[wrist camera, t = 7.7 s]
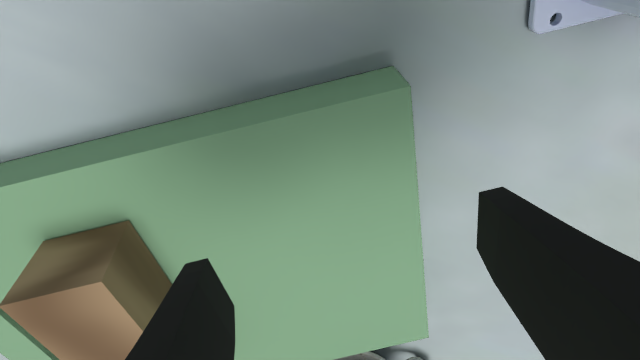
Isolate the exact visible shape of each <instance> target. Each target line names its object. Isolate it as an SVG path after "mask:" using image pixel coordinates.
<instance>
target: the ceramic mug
mask: <svg viewBox="0 0 640 360" xmlns="http://www.w3.org/2000/svg"><path fill="white" fill-rule="evenodd" d="M334 360H386V359H385V358H383V357H381V356H379V355H377V354H375V353H373V352H370V351H368V352H364V353H360V354H356V355H351V356H347V357H343V358H338V359H334ZM407 360H423V359H422V358H420V357H411V358H409V359H407Z"/></svg>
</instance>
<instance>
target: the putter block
mask: <svg viewBox="0 0 640 360" xmlns="http://www.w3.org/2000/svg"><path fill="white" fill-rule="evenodd" d="M171 286H172V284H171V282H170V281H169V279H168V278H167V276H166V275H165V273H164V272H163V270H162V269H161V267H160V266H159V264H158V263H157V261H156V260H155V258H154V257H153V255H152V254H151V253H150V251H149V250H148V248H147V247H146V245H145V244H144V242H143V241H142V239H141V238H140V236H139V235H138V233H137V232H136V230H135V229H134V227H133V226H132V224H131V223H130V221H129V220H128V221H124V222H120V223H116V224H112V225H108V226H104V227H100V228H95V229H91V230H87V231H83V232H79V233H75V234H71V235H67V236H63V237H59V238H54V239H50V240H46V241H43V242H42V244H41V245H40V246H39V248H38V249H37V251H36V252H35V254H34V255H33V257H32V258H31V260H30V261H29V263H28V264H27V265H26V267H25V268H24V270H23V271H22V273H21V274H20V276H19V277H18V279H17V280H16V281H15V283H14V284H13V286H12V287H11V289H10V290H9V292H8V293H7V295H6V296H5V297H4V299H3V300H2V302H1V303H0V308H1V309H2V310H3V311H4V312H5V313H7V314H8V315H9V316H10V317H11V318H12V319H13V320H15V321H16V322H17V323H18V324H19V325H20V326H22V327H23V328H24V329H25V330H26V331H27V332H28V333H30V334H31V335H32V336H33V337H34V338H35V339H36V340H38V341H39V342H40V343H41V344H42V345H43V346H45V347H46V348H47V349H48V350H49V351H50V352H51V353H53V354H54V355H55V356H56V357H57V358H58V359H59V360H125V359H126V357H127V356H128V354H129V353H130V351H131V350H132V348H133V347H134V345H135V344H136V342H137V341H138V339H139V337H140V336H141V334H142V333H143V331H144V330H145V328H146V326H147V325H148V323H149V322H150V320H151V319H152V317H153V315H154V314H155V312H156V310H157V309H158V307H159V306H160V304H161V302H162V301H163V299H164V297H165V296H166V294H167V292H168V291H169V289H170V287H171Z"/></svg>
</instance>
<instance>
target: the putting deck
mask: <svg viewBox="0 0 640 360" xmlns="http://www.w3.org/2000/svg"><path fill="white" fill-rule="evenodd" d="M128 220H129V221H130V223H131V224H132V226H133V227H134V229H135V230H136V232H137V233H138V235H139V236H140V238H141V239H142V241H143V242H144V244H145V245H146V247H147V248H148V250H149V251H150V253H151V254H152V255H153V257H154V258H155V260H156V261H157V263H158V264H159V266H160V267H161V269H162V270H163V272H164V273H165V275H166V276H167V278H168V279H169V281H170V282H171V284H173V283H174V281H175V279H176V278H177V276H178V274H179V273H180V271H181V270H182V268H183V266H184V265H185V264H186V263H190V262H194V261H198V260H202V259H206V258H208V260H209V261H210V263H211V265H212V267H213V268H214V270H215V272H216V274H217V276H218V277H219V279H220V281H221V283H222V284H223V286H224V288H225V290H226V292H227V293H228V295H229V297H230V299H231V300H232V302H233V304H234V308H235V354H234V360H334V359H338V358H343V357H347V356H351V355H356V354H360V353H364V352H368V351H373V350H377V349H381V348H386V347H390V346H394V345H398V344H403V343H407V342H411V341H416V340H420V339H424V338H428V337H429V335H428V321H427V307H426V293H425V280H424V266H423V252H422V238H421V224H420V210H419V197H418V183H417V169H416V155H415V141H414V127H413V113H412V100H411V86H410V85H409V84H408V82H407V81H406V80H405V79H404V78H403V77H402V76H401V74H400V73H399V72H398V71H397V70H396V69H395V68H394V66H390V67H386V68H382V69H378V70H374V71H370V72H366V73H362V74H358V75H354V76H350V77H346V78H342V79H338V80H334V81H330V82H326V83H322V84H318V85H314V86H310V87H306V88H302V89H298V90H294V91H290V92H286V93H282V94H278V95H274V96H270V97H266V98H262V99H258V100H254V101H250V102H246V103H242V104H238V105H234V106H229V107H225V108H221V109H217V110H213V111H209V112H205V113H201V114H197V115H193V116H189V117H185V118H181V119H177V120H173V121H169V122H165V123H161V124H157V125H153V126H149V127H145V128H141V129H137V130H133V131H129V132H125V133H121V134H117V135H113V136H109V137H105V138H101V139H97V140H93V141H89V142H85V143H81V144H77V145H73V146H68V147H64V148H60V149H56V150H52V151H48V152H44V153H40V154H36V155H32V156H28V157H24V158H20V159H16V160H12V161H8V162H4V163H0V303H1V302H2V300H3V299H4V297H5V296H6V295H7V293H8V292H9V290H10V289H11V287H12V286H13V284H14V283H15V281H16V280H17V279H18V277H19V276H20V274H21V273H22V271H23V270H24V268H25V267H26V265H27V264H28V263H29V261H30V260H31V258H32V257H33V255H34V254H35V252H36V251H37V249H38V248H39V246H40V245H41V244H42V242H43V241H46V240H50V239H54V238H59V237H63V236H67V235H71V234H75V233H79V232H83V231H87V230H91V229H95V228H100V227H104V226H108V225H112V224H116V223H120V222H124V221H128ZM0 353H1V354H2V355H4V356H5V357H6V358H8V359H9V360H59V359H58V358H57V357H56V356H55V355H54V354H53V353H51V352H50V351H49V350H48V349H47V348H46V347H45V346H43V345H42V344H41V343H40V342H39V341H38V340H36V339H35V338H34V337H33V336H32V335H31V334H30V333H28V332H27V331H26V330H25V329H24V328H23V327H22V326H20V325H19V324H18V323H17V322H16V321H15V320H13V319H12V318H11V317H10V316H9V315H8V314H7V313H5V312H4V311H3V310H2V309H1V308H0Z"/></svg>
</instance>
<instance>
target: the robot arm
mask: <svg viewBox="0 0 640 360" xmlns="http://www.w3.org/2000/svg"><path fill="white" fill-rule="evenodd" d="M555 13H556V18H555V20H554V21H553V22H552V23H550V19H551V17H552V16H553V15H554V14H555ZM624 13H625V14H628V15H632V16H636V17H640V0H531V3H530V12H529V21H528V25H529V29H530V30H531V31H533V32H535V33H537V34H543V33H547V32H551V31H555V30H559V29H563V28H567V27H571V26H575V25H579V24H583V23H587V22H591V21H595V20H599V19H603V18H607V17H611V16H615V15H620V14H624ZM477 249H478V251H479V254H480V256H481V258H482V260H483V262H484V264H485V266H486V268H487V270H488V272H489V274H490V276H491V278H492V279H493V281H494V283H495V285H496V286H497V288H498V289H499V291H500V292H501V294H502V295H503V297H504V298H505V300H506V301H507V303H508V304H509V306H510V307H511V309H512V310H513V312H514V313H515V315H516V316H517V318H518V319H519V321H520V322H521V324H522V325H523V327H524V328H525V330H526V331H527V333H528V334H529V336H530V337H531V339H532V340H533V342H534V343H535V345H536V346H537V348H538V349H539V351H540V352H541V354H542V355H543V357H544V358H545V360H640V262H639V261H637V260H635V259H633V258H631V257H629V256H627V255H625V254H623V253H621V252H619V251H617V250H615V249H613V248H611V247H609V246H607V245H605V244H603V243H601V242H599V241H597V240H595V239H594V238H592V237H590V236H588V235H586V234H584V233H582V232H581V231H579V230H577V229H575V228H573V227H572V226H570V225H568V224H566V223H564V222H563V221H561V220H559V219H557V218H556V217H554V216H552V215H551V214H549V213H547V212H545V211H544V210H542V209H540V208H538V207H537V206H535V205H533V204H532V203H530V202H528V201H527V200H525V199H523V198H521V197H520V196H518V195H516V194H515V193H513V192H511V191H509V190H508V189H506V188H504V187H499V188H495V189H491V190H487V191H483V192H479V205H478V229H477ZM234 354H235V308H234V304H233V302H232V300H231V299H230V297H229V295H228V293H227V292H226V290H225V288H224V286H223V284H222V283H221V281H220V279H219V277H218V276H217V274H216V272H215V270H214V268H213V267H212V265H211V263H210V261H209V260H208V258H206V259H202V260H198V261H194V262H190V263H186V264H185V265H184V266H183V268H182V270H181V271H180V273H179V274H178V276H177V278H176V279H175V281H174V283H173V284H172V286H171V287H170V289H169V291H168V292H167V294H166V296H165V297H164V299H163V301H162V302H161V304H160V306H159V307H158V309H157V310H156V312H155V314H154V315H153V317H152V319H151V320H150V322H149V323H148V325H147V326H146V328H145V330H144V331H143V333H142V334H141V336H140V337H139V339H138V341H137V342H136V344H135V345H134V347H133V348H132V350H131V351H130V353H129V354H128V356H127V357H126V359H125V360H234Z"/></svg>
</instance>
